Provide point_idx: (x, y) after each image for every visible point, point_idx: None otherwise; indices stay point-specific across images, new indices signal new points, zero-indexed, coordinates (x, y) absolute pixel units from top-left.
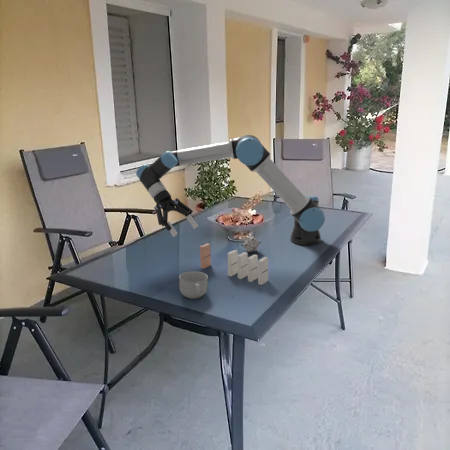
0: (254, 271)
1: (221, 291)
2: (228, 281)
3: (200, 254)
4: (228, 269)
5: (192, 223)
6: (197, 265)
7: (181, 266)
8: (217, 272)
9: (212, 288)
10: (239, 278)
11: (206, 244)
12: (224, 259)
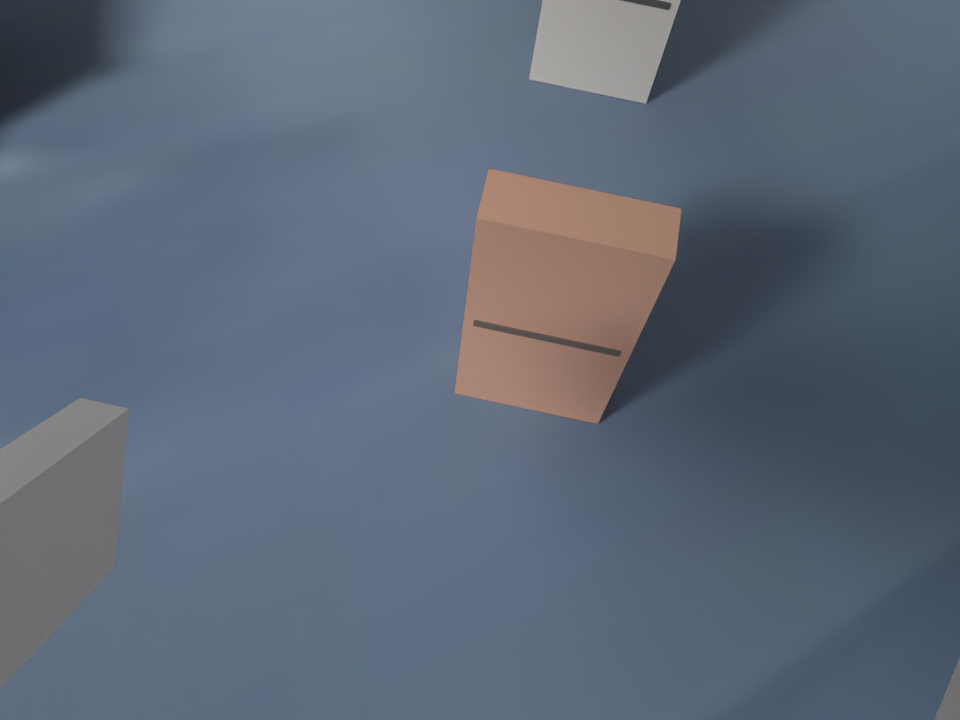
0: None
1: (955, 52)
2: (757, 64)
3: (642, 327)
4: (664, 46)
5: (36, 580)
6: (542, 502)
7: (671, 701)
8: None
9: (957, 127)
10: None
11: (537, 205)
12: (230, 280)
